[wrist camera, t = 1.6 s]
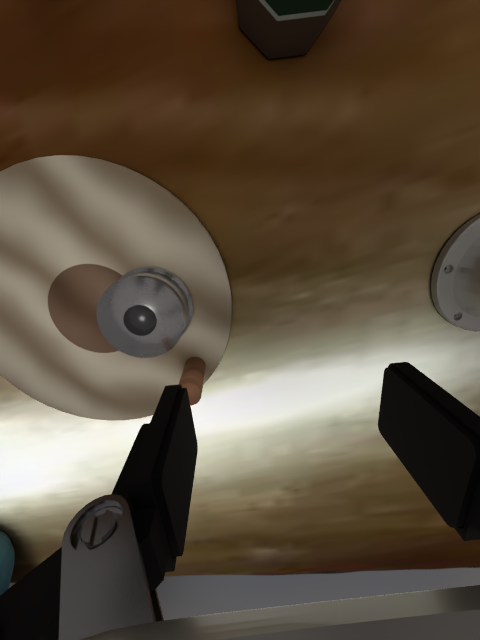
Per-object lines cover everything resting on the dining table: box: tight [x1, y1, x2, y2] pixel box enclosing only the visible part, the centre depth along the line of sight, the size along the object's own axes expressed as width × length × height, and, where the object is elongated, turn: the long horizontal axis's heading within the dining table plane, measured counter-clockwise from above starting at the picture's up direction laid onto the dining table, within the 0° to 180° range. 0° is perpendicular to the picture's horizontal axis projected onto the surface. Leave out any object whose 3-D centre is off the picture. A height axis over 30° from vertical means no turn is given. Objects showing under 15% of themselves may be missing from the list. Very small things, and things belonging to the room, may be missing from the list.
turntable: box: [0, 155, 232, 420], centre depth 23 cm, size 26×26×6 cm
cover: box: [97, 266, 194, 358], centre depth 23 cm, size 8×8×4 cm
